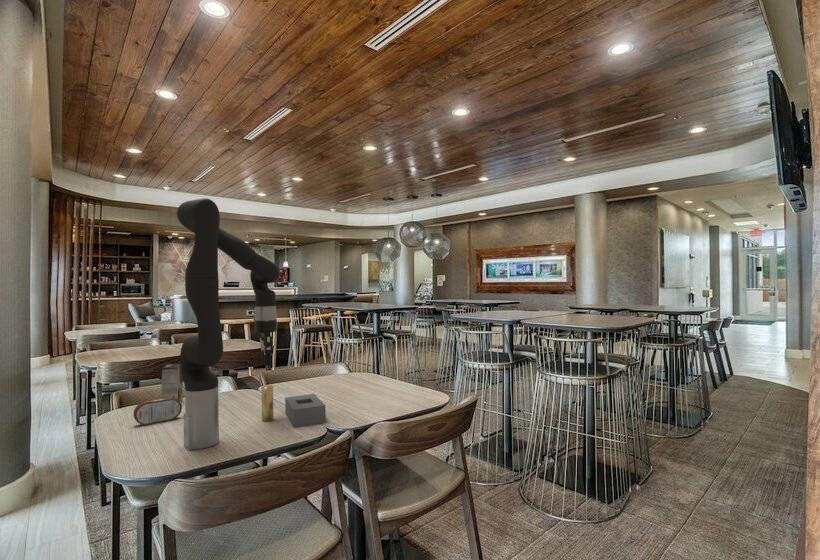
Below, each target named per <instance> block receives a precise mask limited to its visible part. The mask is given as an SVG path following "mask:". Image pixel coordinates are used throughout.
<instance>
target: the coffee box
mask: <svg viewBox="0 0 820 560" xmlns="http://www.w3.org/2000/svg"><path fill="white" fill-rule="evenodd" d="M160 370H161V371H160V372H161V373H160V374H161V376H160V377H161V379H160V381H161V398H166V397H175V398H177V399H178V400H179V401H180V402H181V401H182V400H184V395H183V394H184V391H183V390H184V386H183V385H184V382H183V380H182V374H181V363H168V364H165V365H164V366H162V367H161V368H160ZM182 402H183V401H182ZM182 402H181V403H182Z"/></svg>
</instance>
